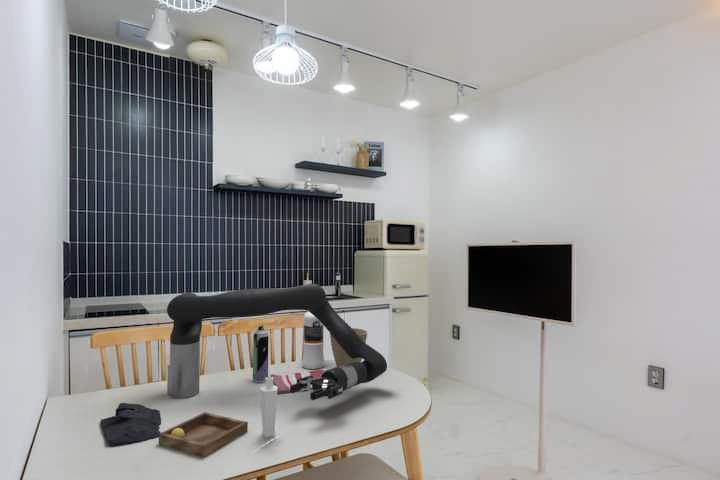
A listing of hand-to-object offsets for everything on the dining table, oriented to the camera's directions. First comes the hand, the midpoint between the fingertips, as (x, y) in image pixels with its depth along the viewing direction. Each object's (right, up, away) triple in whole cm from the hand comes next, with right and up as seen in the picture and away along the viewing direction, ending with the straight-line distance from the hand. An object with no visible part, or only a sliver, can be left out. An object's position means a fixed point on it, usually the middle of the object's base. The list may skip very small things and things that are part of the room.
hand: (300, 393), depth 118 cm
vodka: (-2, -9, +54) cm, 55 cm away
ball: (-29, -7, -14) cm, 33 cm away
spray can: (-20, -9, +36) cm, 42 cm away
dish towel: (-3, -9, +33) cm, 35 cm away
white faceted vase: (-7, -8, -9) cm, 14 cm away
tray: (-23, -8, -11) cm, 27 cm away
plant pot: (+12, -9, +47) cm, 50 cm away
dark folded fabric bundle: (-45, -8, -5) cm, 46 cm away
